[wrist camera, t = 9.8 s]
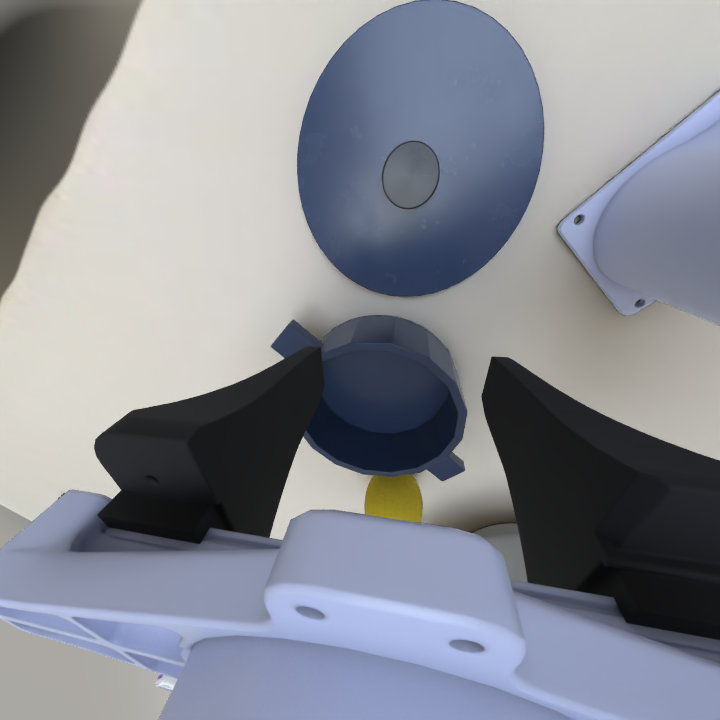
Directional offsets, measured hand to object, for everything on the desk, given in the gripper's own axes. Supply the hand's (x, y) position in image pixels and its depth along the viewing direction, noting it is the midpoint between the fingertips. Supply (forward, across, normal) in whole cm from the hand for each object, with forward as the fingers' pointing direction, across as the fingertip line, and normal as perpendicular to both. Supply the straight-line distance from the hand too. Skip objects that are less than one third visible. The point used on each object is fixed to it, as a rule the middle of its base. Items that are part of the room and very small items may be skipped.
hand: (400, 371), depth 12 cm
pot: (+10, +2, +8) cm, 12 cm away
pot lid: (+9, 0, -7) cm, 12 cm away
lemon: (+10, 0, +19) cm, 21 cm away
